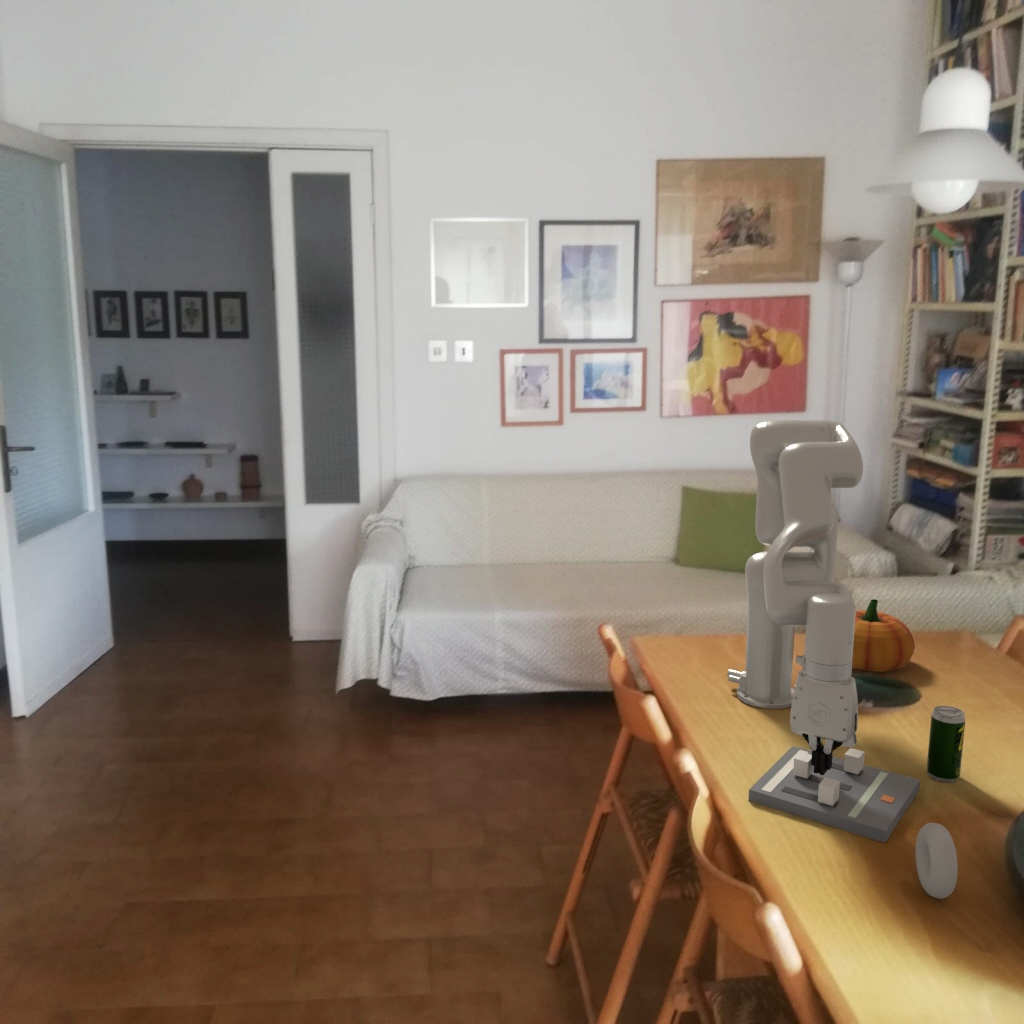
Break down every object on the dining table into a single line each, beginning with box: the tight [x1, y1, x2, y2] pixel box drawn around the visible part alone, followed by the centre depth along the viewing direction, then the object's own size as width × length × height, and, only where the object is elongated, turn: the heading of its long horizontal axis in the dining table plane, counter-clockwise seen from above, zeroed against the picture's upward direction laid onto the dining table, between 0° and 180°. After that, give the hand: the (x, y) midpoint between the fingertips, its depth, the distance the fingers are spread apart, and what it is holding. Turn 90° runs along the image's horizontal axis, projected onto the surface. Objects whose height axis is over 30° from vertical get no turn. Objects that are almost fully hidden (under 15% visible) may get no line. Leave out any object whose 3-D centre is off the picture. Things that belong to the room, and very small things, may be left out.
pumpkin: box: [852, 598, 916, 673], centre depth 217 cm, size 19×19×15 cm
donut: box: [914, 822, 959, 900], centre depth 131 cm, size 10×3×10 cm, turn 173°
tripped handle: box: [793, 752, 814, 778], centre depth 161 cm, size 2×3×3 cm
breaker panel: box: [748, 745, 921, 844], centre depth 158 cm, size 22×20×5 cm
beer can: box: [926, 705, 966, 783], centre depth 164 cm, size 5×5×12 cm
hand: (821, 770), depth 159 cm, fingers closed
